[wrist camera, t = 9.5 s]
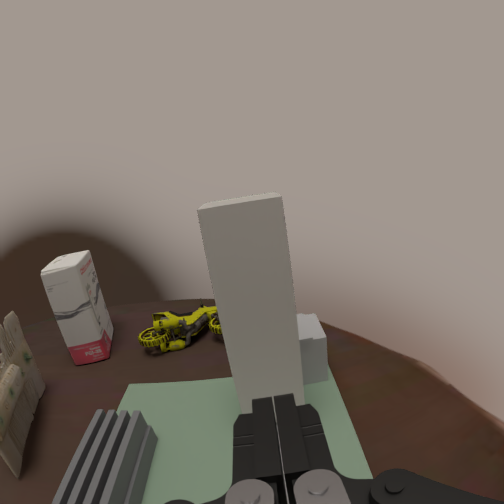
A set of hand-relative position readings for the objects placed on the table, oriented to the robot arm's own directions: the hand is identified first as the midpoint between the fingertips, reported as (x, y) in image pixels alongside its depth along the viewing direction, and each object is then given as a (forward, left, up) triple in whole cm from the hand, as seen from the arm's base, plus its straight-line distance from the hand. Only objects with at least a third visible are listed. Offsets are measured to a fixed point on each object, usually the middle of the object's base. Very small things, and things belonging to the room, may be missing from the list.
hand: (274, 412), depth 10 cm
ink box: (-30, +9, -9) cm, 33 cm away
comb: (-23, -5, -9) cm, 26 cm away
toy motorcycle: (-19, +16, -9) cm, 26 cm away
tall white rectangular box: (-5, +9, -7) cm, 12 cm away
